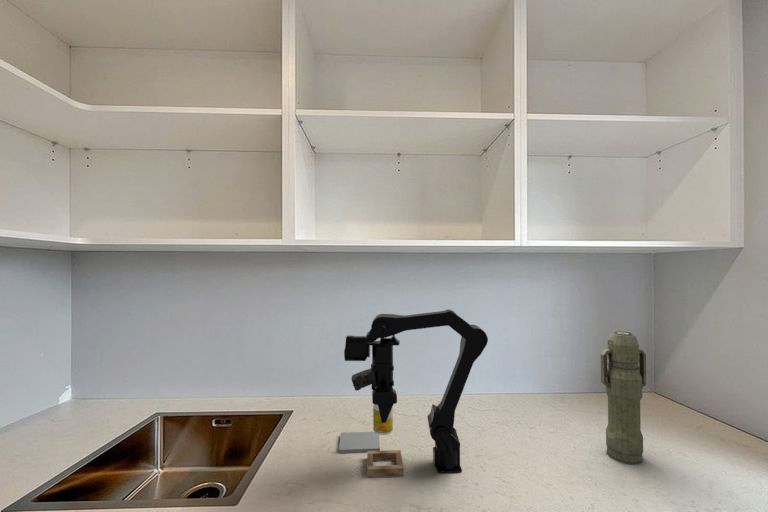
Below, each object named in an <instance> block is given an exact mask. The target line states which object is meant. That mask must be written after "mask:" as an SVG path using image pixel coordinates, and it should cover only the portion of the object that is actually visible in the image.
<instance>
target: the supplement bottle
mask: <svg viewBox="0 0 768 512" xmlns="http://www.w3.org/2000/svg"><path fill="white" fill-rule="evenodd" d="M372 405H373V406H372V407H373V408H372V413H373V414H372V417H373V418H372V422H373V423H372V424H373V425H372V427H373V428H372V430H373V432H375V433H376V434H379V436H386V435H390V434H391V433H392V432H393V431H394V406H393V407H392V409H391V411H390V414H389V416H388V418H387V421H386V423H382V422H381V417H380V412H379V407H378V405H377V404H372Z"/></svg>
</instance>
